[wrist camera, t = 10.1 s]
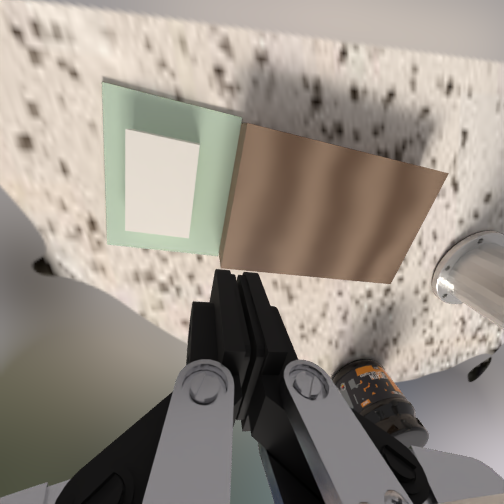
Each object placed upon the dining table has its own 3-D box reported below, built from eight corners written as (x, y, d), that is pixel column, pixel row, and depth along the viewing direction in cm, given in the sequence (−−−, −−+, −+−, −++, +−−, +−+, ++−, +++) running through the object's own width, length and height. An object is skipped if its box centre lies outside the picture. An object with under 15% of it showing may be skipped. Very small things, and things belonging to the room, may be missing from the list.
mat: (241, 117, 24) (242, 117, 24) (217, 255, 30) (218, 256, 30) (103, 82, 21) (102, 81, 21) (108, 243, 27) (107, 244, 27)
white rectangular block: (125, 129, 20) (132, 128, 22) (125, 230, 24) (131, 221, 26) (199, 145, 22) (199, 143, 24) (188, 238, 25) (189, 229, 28)
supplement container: (391, 359, 46) (447, 427, 36) (363, 395, 50) (405, 467, 40) (345, 353, 43) (392, 427, 33) (319, 393, 47) (353, 470, 37)
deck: (419, 167, 30) (448, 173, 26) (371, 268, 35) (390, 284, 32) (240, 123, 24) (247, 123, 21) (218, 251, 30) (220, 268, 26)
